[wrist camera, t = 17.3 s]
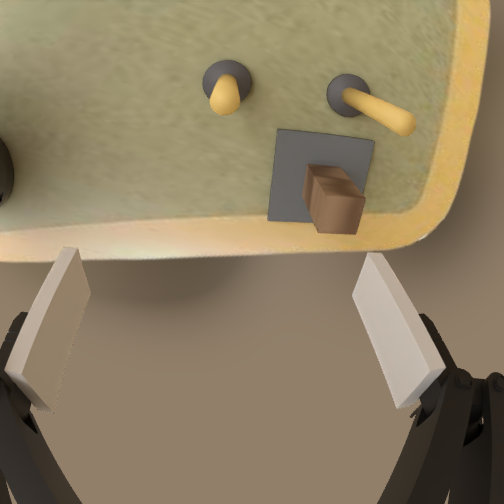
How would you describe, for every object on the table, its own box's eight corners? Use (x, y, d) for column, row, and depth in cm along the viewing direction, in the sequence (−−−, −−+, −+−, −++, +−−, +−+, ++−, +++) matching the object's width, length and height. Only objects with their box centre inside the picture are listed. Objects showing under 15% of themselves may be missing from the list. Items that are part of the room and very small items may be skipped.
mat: (267, 218, 48) (267, 220, 48) (277, 128, 40) (278, 130, 40) (353, 222, 50) (354, 224, 49) (372, 140, 42) (374, 141, 41)
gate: (202, 103, 38) (186, 135, 25) (204, 59, 34) (188, 64, 21) (364, 118, 40) (423, 158, 27) (371, 78, 36) (436, 101, 23)
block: (301, 195, 46) (317, 232, 38) (306, 163, 43) (325, 195, 35) (334, 197, 46) (355, 234, 38) (340, 166, 43) (365, 198, 35)
